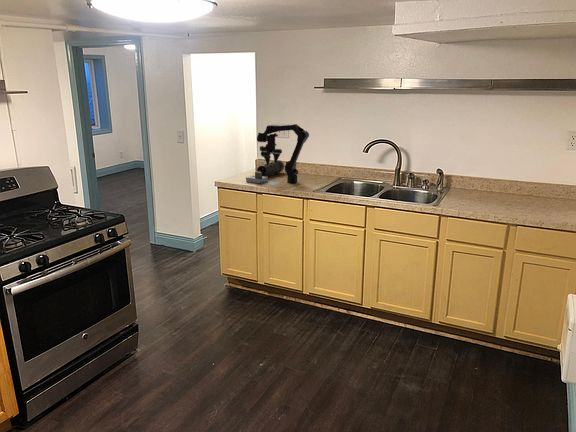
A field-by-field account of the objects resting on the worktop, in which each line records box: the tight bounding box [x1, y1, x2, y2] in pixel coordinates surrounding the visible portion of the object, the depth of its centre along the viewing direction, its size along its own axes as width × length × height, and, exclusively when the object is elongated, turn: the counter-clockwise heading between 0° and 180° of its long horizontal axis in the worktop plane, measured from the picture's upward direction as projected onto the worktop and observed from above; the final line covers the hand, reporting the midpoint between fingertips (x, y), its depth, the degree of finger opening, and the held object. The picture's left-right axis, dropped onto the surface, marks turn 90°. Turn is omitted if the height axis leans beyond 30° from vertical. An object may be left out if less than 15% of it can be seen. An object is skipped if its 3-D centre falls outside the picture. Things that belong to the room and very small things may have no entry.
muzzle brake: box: [256, 159, 285, 177], centre depth 369 cm, size 10×28×10 cm, turn 152°
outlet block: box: [245, 174, 269, 185], centre depth 344 cm, size 12×10×4 cm
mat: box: [262, 181, 280, 186], centre depth 340 cm, size 9×9×1 cm
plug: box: [254, 170, 262, 178], centre depth 342 cm, size 4×3×7 cm, turn 54°
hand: (271, 164), depth 346 cm, fingers open, 9 cm apart
